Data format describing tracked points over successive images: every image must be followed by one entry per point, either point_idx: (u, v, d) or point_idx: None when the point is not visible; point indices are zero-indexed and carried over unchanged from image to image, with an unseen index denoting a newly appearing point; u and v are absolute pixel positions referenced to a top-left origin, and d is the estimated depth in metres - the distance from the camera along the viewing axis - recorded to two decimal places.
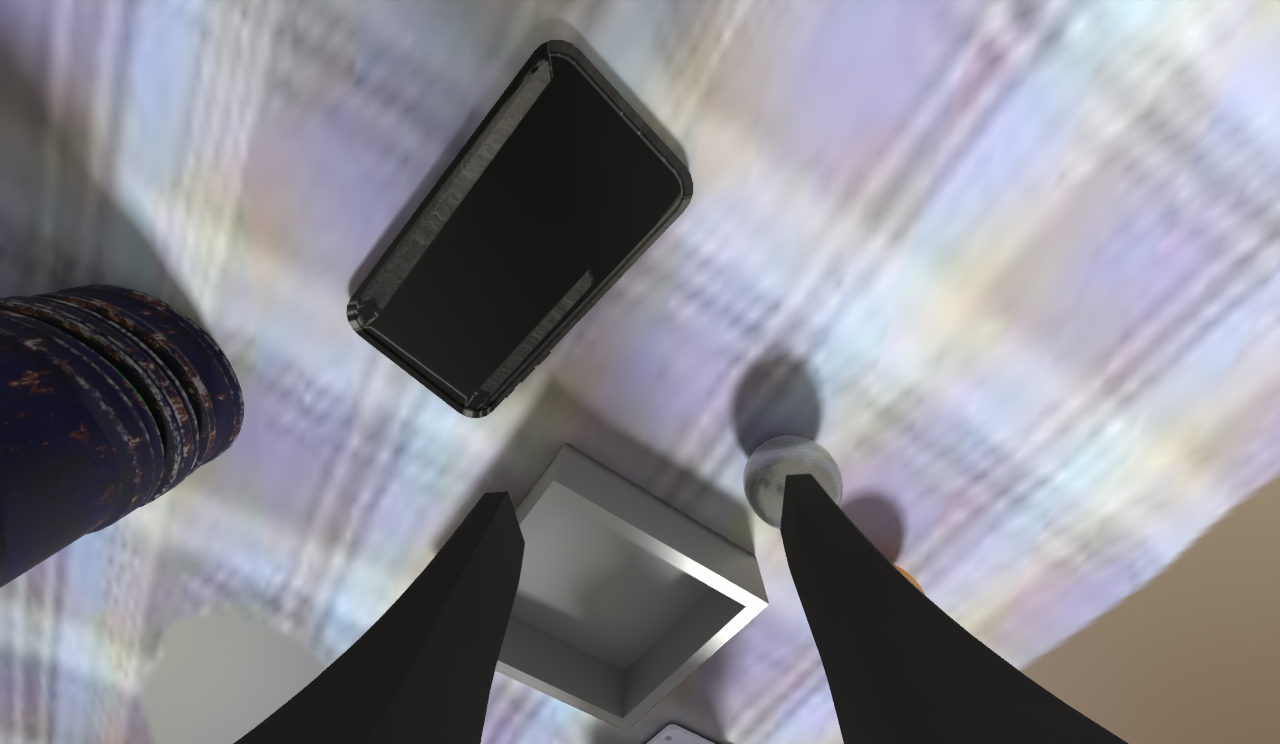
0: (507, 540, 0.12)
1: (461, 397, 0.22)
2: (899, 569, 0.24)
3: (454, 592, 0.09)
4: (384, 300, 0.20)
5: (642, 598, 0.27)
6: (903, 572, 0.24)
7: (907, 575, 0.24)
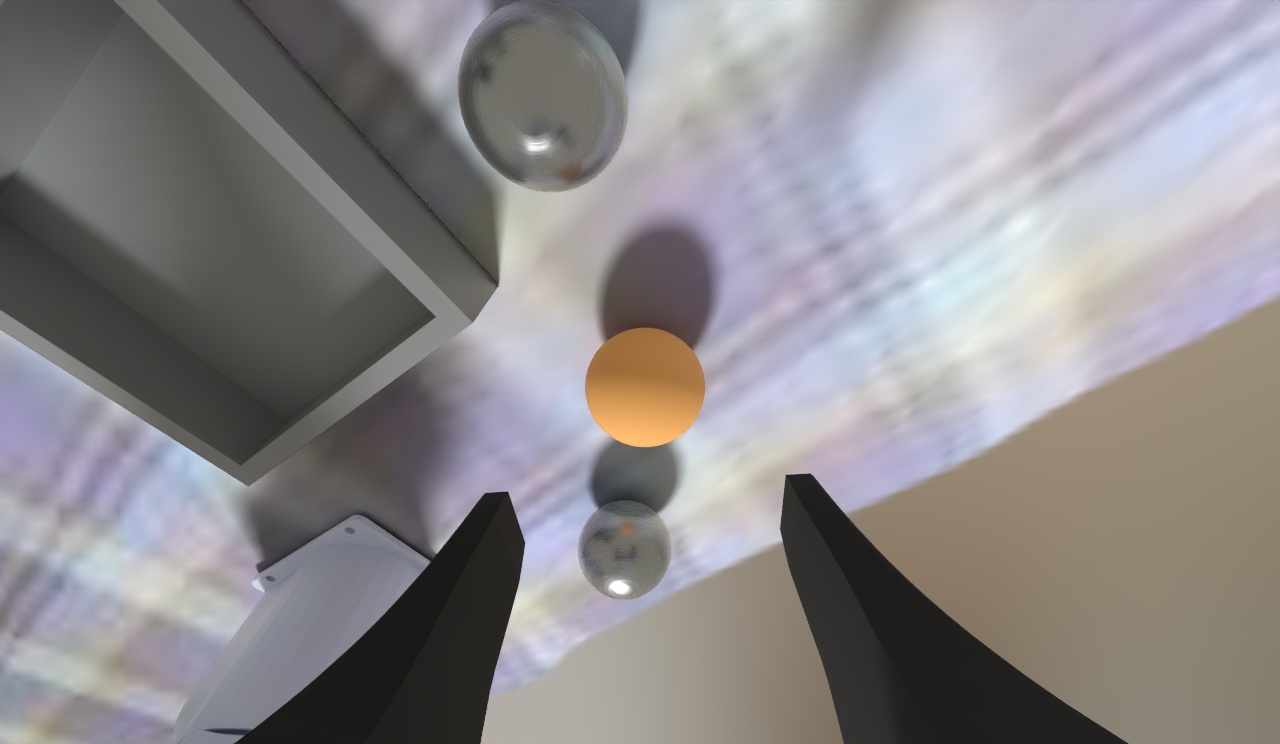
0: (507, 540, 0.12)
1: None
2: (684, 342, 0.17)
3: (454, 592, 0.09)
4: None
5: (312, 303, 0.17)
6: (687, 346, 0.17)
7: (691, 351, 0.17)
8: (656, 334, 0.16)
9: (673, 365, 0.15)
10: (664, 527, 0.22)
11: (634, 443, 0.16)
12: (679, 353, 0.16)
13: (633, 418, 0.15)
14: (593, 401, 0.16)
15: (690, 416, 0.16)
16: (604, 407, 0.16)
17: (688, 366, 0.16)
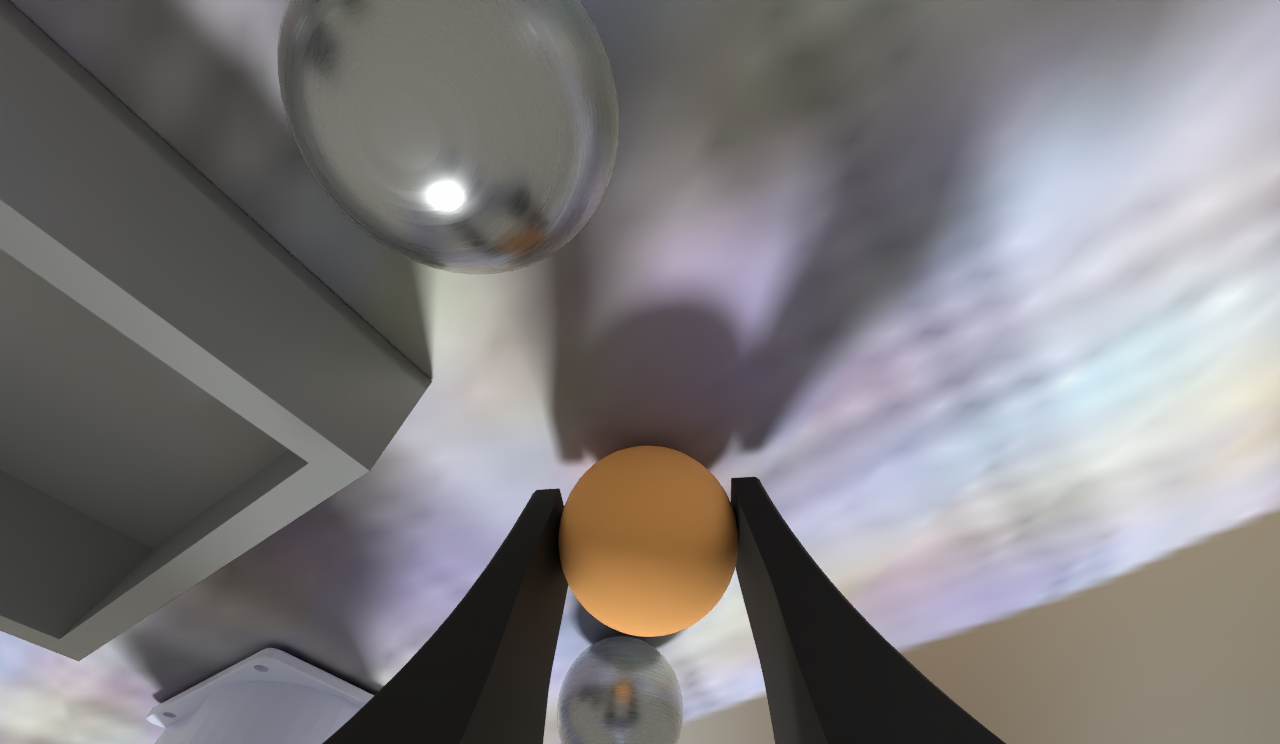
0: None
1: None
2: (707, 474, 0.11)
3: (521, 589, 0.09)
4: None
5: (157, 408, 0.12)
6: (713, 481, 0.11)
7: (718, 489, 0.11)
8: (665, 469, 0.10)
9: (694, 529, 0.10)
10: (673, 683, 0.16)
11: (632, 634, 0.11)
12: (702, 504, 0.10)
13: (629, 614, 0.10)
14: (568, 574, 0.10)
15: (718, 597, 0.10)
16: (584, 590, 0.10)
17: (716, 525, 0.10)
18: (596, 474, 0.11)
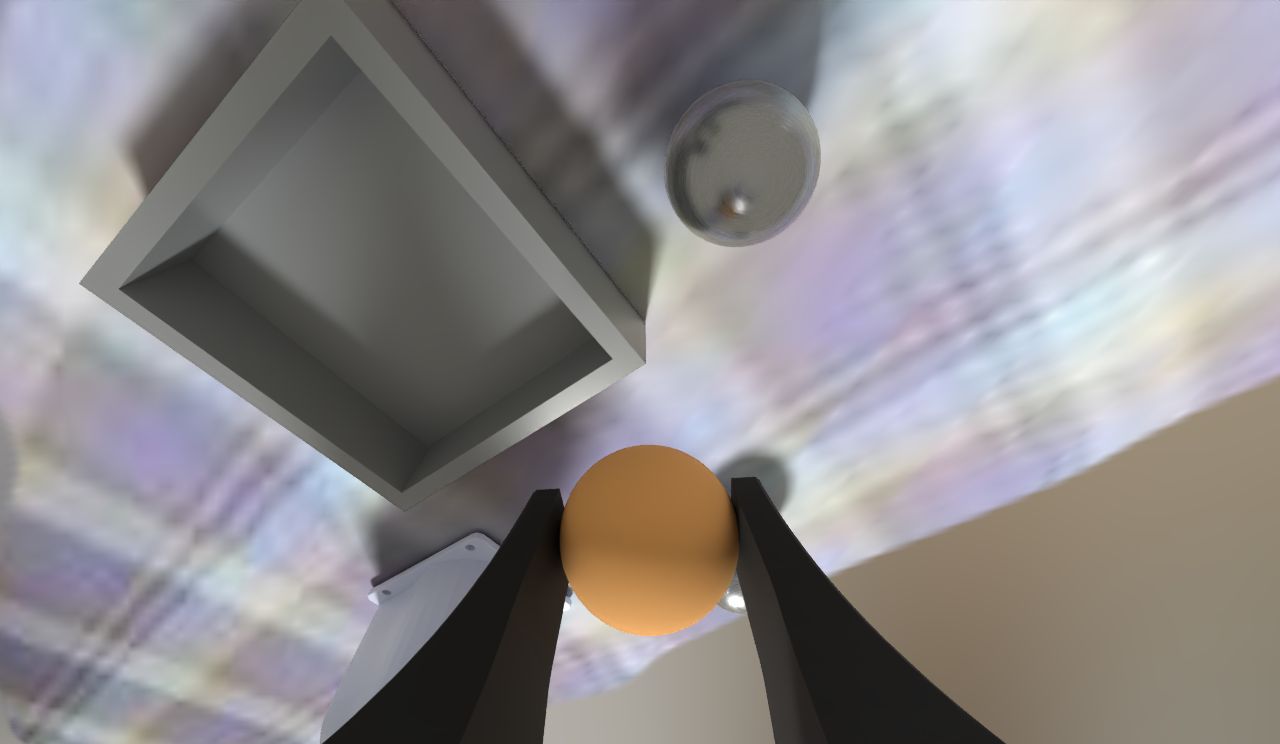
0: None
1: None
2: (708, 473, 0.11)
3: (520, 588, 0.09)
4: None
5: (471, 341, 0.19)
6: (714, 480, 0.11)
7: (719, 488, 0.11)
8: (666, 468, 0.10)
9: (695, 528, 0.10)
10: None
11: (633, 633, 0.11)
12: (703, 503, 0.10)
13: (630, 613, 0.10)
14: (569, 573, 0.10)
15: (719, 597, 0.10)
16: (585, 589, 0.10)
17: (717, 525, 0.10)
18: (597, 473, 0.11)
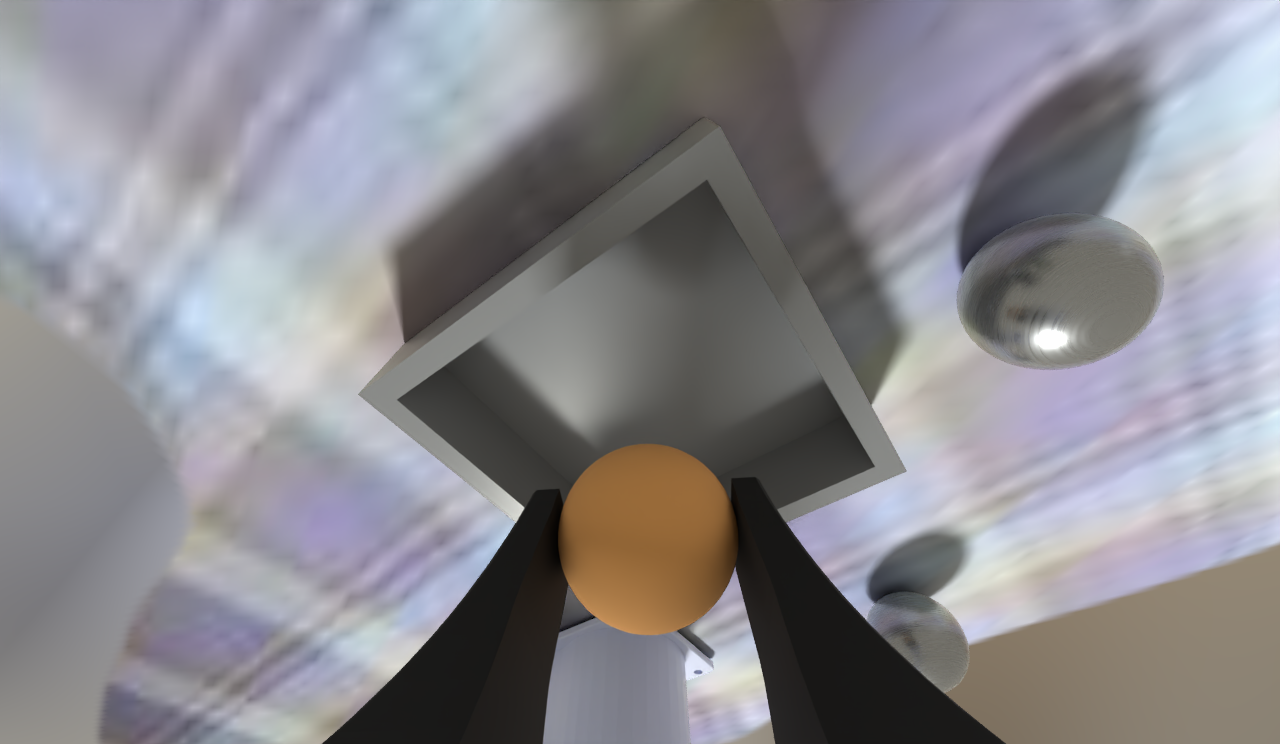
0: None
1: None
2: (707, 472, 0.11)
3: (521, 589, 0.09)
4: None
5: (691, 431, 0.18)
6: (712, 479, 0.11)
7: (718, 486, 0.11)
8: (664, 466, 0.10)
9: (692, 528, 0.10)
10: None
11: (632, 632, 0.11)
12: (701, 502, 0.10)
13: (628, 613, 0.10)
14: (568, 572, 0.10)
15: (718, 595, 0.10)
16: (583, 588, 0.10)
17: (716, 523, 0.10)
18: (595, 472, 0.11)
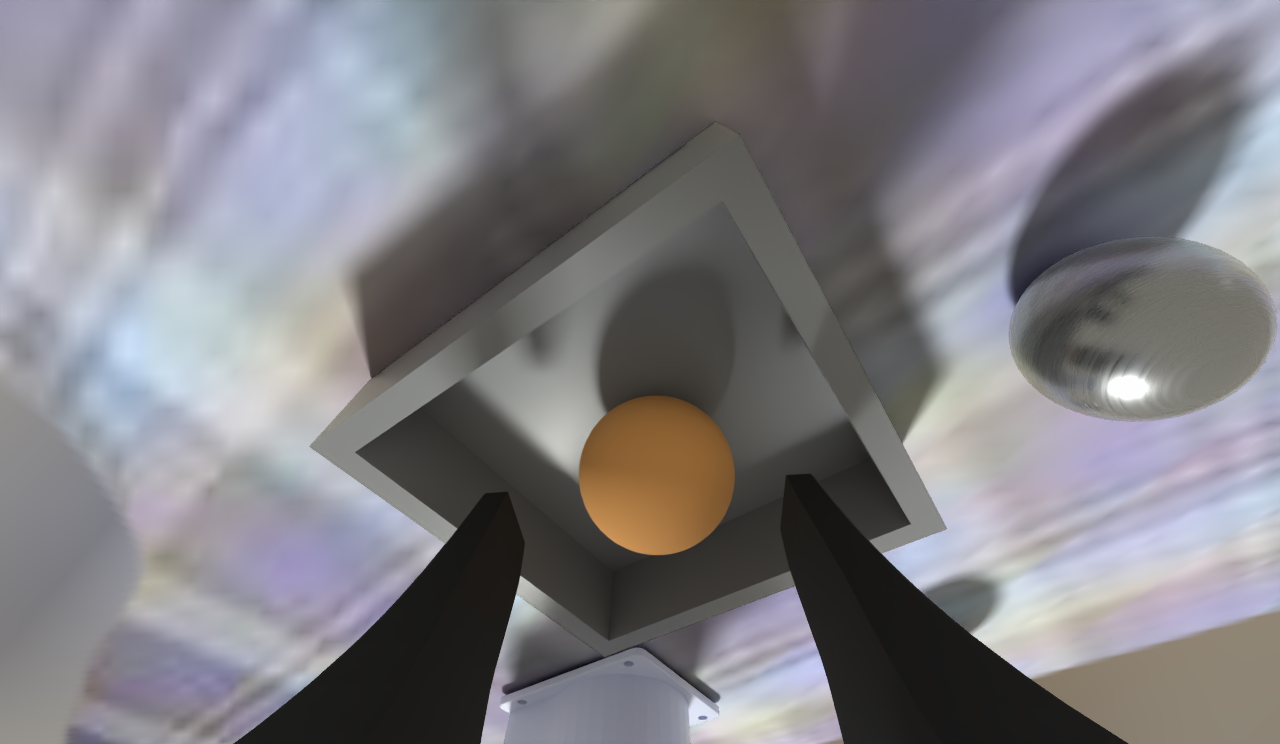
0: (507, 540, 0.12)
1: None
2: None
3: (454, 592, 0.09)
4: None
5: None
6: (709, 418, 0.13)
7: (714, 423, 0.13)
8: (670, 408, 0.12)
9: (701, 453, 0.12)
10: None
11: (653, 554, 0.12)
12: (704, 433, 0.12)
13: (653, 529, 0.11)
14: (595, 506, 0.12)
15: (724, 512, 0.12)
16: (612, 516, 0.12)
17: (718, 449, 0.12)
18: (610, 420, 0.12)
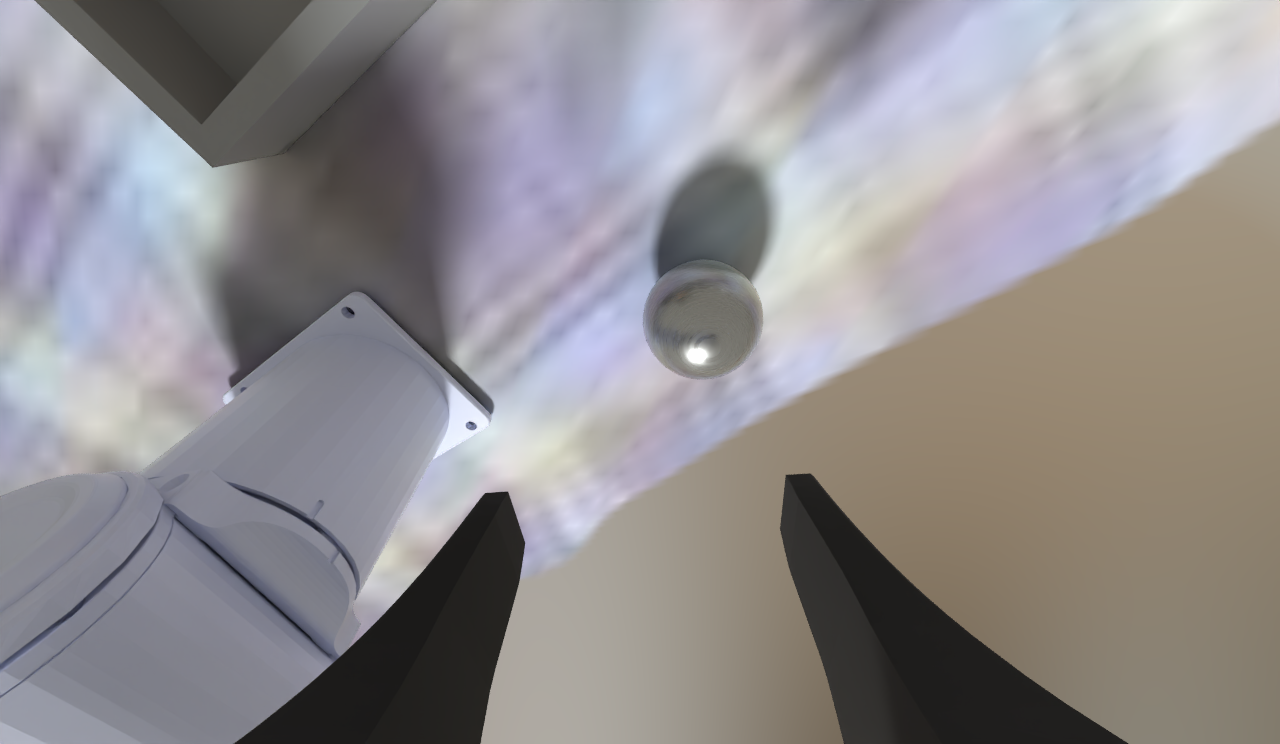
0: (507, 540, 0.12)
1: None
2: None
3: (454, 592, 0.09)
4: None
5: None
6: None
7: None
8: None
9: None
10: None
11: None
12: None
13: None
14: None
15: None
16: None
17: None
18: None
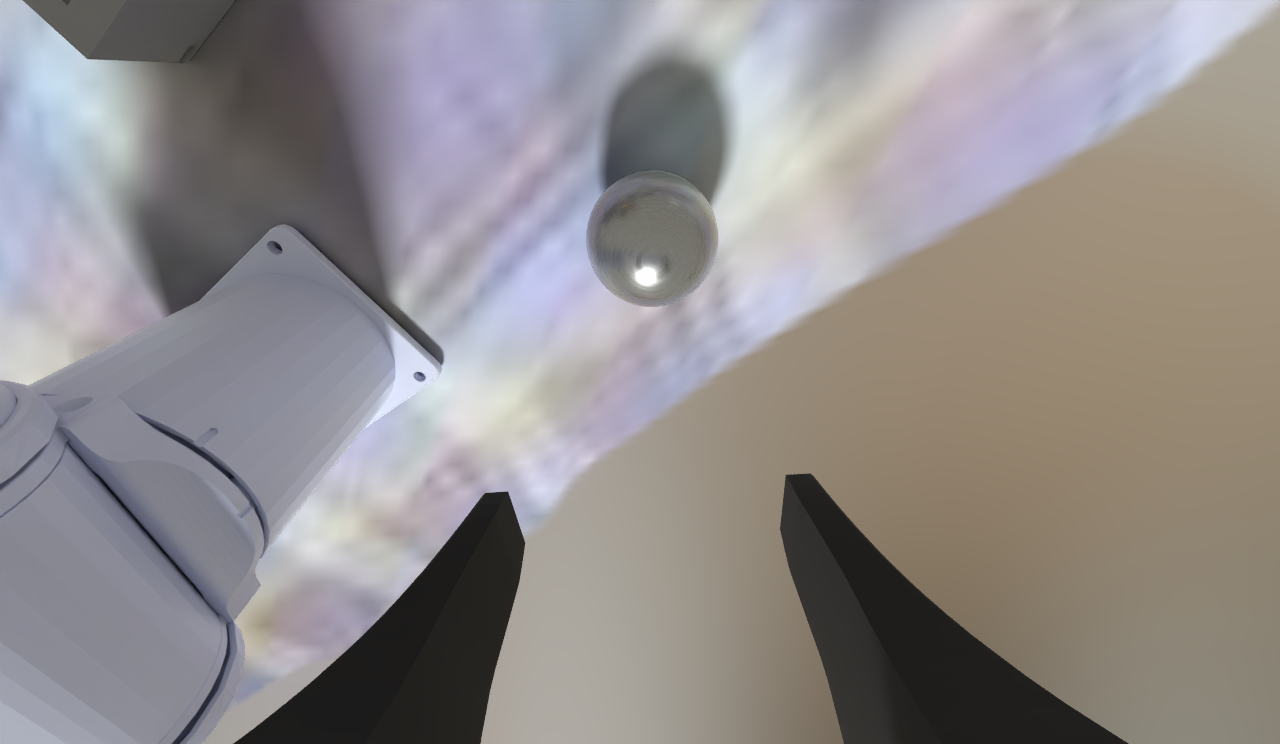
0: (507, 540, 0.12)
1: None
2: None
3: (454, 592, 0.09)
4: None
5: None
6: None
7: None
8: None
9: None
10: (708, 204, 0.15)
11: None
12: None
13: None
14: None
15: None
16: None
17: None
18: None
